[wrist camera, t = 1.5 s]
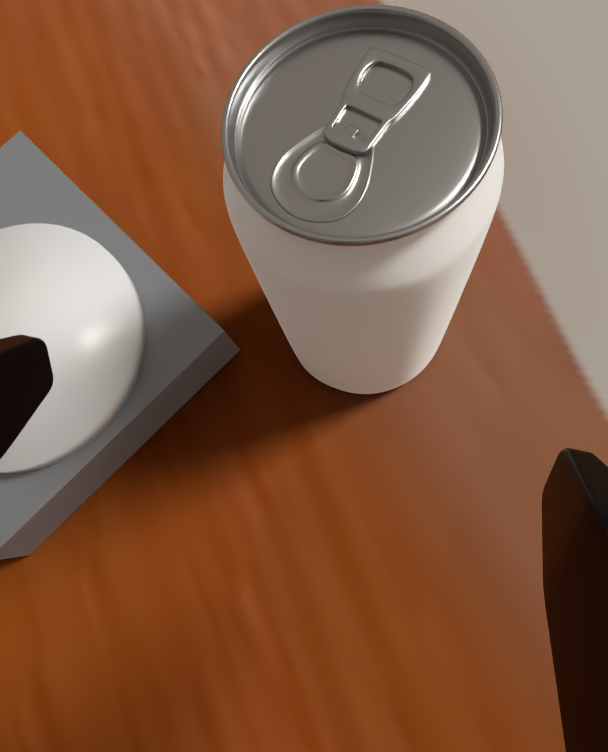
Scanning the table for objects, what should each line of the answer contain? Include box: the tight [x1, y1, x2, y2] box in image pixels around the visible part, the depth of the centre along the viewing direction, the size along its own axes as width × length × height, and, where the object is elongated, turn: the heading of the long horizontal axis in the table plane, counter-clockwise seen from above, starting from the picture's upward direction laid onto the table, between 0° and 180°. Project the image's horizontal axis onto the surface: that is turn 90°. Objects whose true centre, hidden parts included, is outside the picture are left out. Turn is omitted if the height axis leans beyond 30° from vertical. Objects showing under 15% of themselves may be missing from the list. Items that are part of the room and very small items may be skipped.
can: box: [221, 5, 504, 394], centre depth 16 cm, size 6×6×12 cm
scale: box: [0, 131, 240, 560], centre depth 22 cm, size 14×12×3 cm
